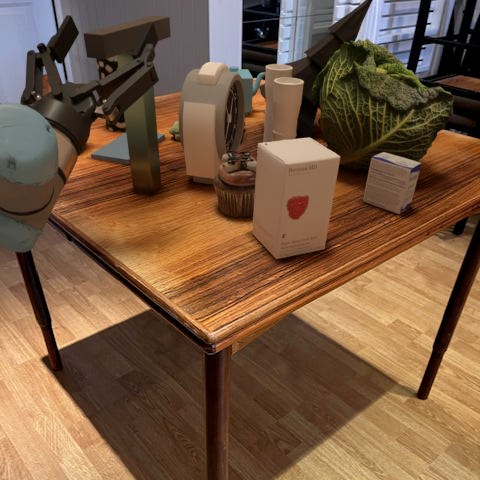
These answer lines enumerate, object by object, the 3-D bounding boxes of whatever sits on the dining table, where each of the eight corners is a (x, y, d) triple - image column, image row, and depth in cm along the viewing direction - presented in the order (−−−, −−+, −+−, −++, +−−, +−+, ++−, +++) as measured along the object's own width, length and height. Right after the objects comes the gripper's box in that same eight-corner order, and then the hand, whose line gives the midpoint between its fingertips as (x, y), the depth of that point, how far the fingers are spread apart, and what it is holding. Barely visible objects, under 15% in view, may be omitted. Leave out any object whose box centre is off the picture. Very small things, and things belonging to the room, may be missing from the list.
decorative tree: (300, 154, 116) (409, 20, 100) (254, 117, 110) (362, -32, 93) (290, 134, 127) (386, 11, 111) (247, 100, 121) (343, -36, 105)
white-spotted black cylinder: (123, 119, 123) (112, 31, 110) (146, 126, 119) (138, 35, 107) (99, 127, 118) (84, 35, 105) (122, 134, 114) (110, 39, 101)
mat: (128, 164, 99) (128, 159, 99) (91, 158, 101) (90, 153, 101) (165, 138, 113) (164, 134, 112) (131, 133, 115) (130, 129, 114)
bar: (105, 59, 66) (102, 34, 64) (86, 57, 67) (83, 33, 65) (170, 37, 82) (169, 16, 80) (155, 35, 83) (153, 15, 81)
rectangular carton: (275, 261, 71) (284, 163, 61) (250, 234, 77) (255, 141, 68) (326, 250, 74) (342, 155, 64) (299, 224, 80) (309, 135, 71)
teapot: (202, 104, 137) (201, 60, 130) (262, 104, 138) (265, 61, 131) (204, 120, 124) (203, 73, 117) (271, 120, 126) (274, 73, 119)
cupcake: (274, 216, 82) (279, 160, 76) (221, 222, 80) (221, 165, 74) (257, 194, 89) (260, 140, 83) (208, 199, 87) (207, 144, 81)
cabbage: (403, 212, 100) (474, 113, 82) (296, 186, 95) (347, 75, 77) (382, 144, 115) (438, 49, 97) (288, 119, 110) (330, 13, 92)
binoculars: (295, 182, 94) (306, 84, 83) (269, 182, 94) (276, 84, 83) (282, 151, 108) (290, 64, 96) (259, 151, 107) (264, 63, 96)
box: (411, 208, 87) (423, 162, 81) (399, 215, 84) (411, 168, 79) (373, 194, 91) (383, 150, 85) (361, 201, 88) (370, 156, 83)
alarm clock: (220, 193, 89) (220, 76, 76) (178, 187, 91) (171, 72, 78) (245, 161, 102) (248, 56, 90) (208, 156, 104) (206, 53, 91)
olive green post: (153, 196, 87) (140, 50, 72) (129, 192, 88) (111, 47, 73) (165, 186, 91) (154, 45, 76) (142, 182, 92) (126, 42, 77)
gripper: (-9, 148, 68) (52, 43, 75) (146, 173, 62) (196, 58, 69) (-45, 107, 61) (26, -4, 68) (125, 131, 55) (184, 7, 62)
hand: (112, 27), depth 68 cm, fingers open, 12 cm apart
